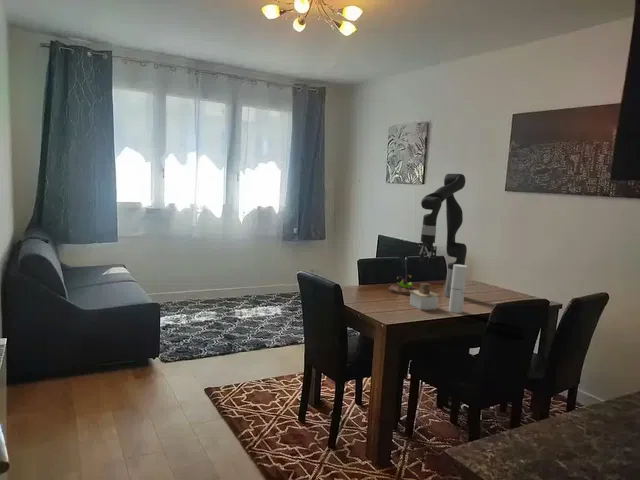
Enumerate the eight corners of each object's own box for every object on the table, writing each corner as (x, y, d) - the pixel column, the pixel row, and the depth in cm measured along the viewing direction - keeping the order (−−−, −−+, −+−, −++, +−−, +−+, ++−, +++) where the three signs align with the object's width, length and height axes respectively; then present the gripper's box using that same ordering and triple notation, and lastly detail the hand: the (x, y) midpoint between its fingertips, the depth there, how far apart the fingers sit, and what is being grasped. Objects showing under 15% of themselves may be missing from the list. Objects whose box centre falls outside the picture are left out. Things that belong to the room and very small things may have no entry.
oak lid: (427, 291, 262) (428, 281, 261) (440, 297, 250) (441, 286, 250) (408, 292, 257) (409, 281, 256) (421, 297, 246) (422, 286, 245)
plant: (417, 297, 277) (419, 279, 275) (385, 292, 284) (387, 274, 283) (423, 291, 295) (425, 274, 294) (393, 286, 302) (394, 270, 301)
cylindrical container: (446, 309, 254) (451, 264, 251) (459, 309, 254) (464, 264, 251) (451, 312, 247) (456, 266, 244) (464, 313, 247) (469, 267, 244)
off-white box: (425, 304, 262) (426, 292, 261) (436, 309, 252) (438, 296, 251) (409, 304, 258) (410, 292, 257) (420, 310, 248) (421, 297, 247)
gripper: (442, 235, 245) (439, 265, 247) (427, 232, 258) (424, 261, 260) (430, 235, 242) (427, 265, 244) (415, 231, 256) (412, 261, 258)
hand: (425, 263), depth 252 cm, fingers open, 8 cm apart
